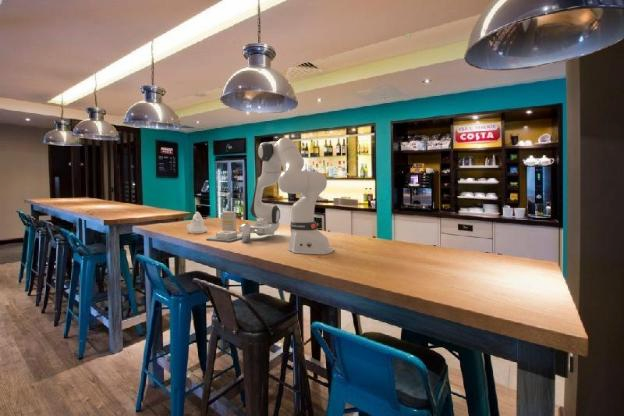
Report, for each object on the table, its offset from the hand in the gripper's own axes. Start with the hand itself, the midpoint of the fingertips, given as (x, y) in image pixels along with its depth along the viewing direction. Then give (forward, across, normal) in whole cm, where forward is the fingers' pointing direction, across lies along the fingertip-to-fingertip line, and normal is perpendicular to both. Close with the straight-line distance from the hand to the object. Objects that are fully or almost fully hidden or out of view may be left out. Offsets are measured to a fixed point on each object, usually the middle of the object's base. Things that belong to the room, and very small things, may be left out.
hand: (248, 231), depth 196 cm
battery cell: (+2, 0, +6) cm, 6 cm away
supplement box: (-27, -32, +6) cm, 42 cm away
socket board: (-2, -16, +6) cm, 17 cm away
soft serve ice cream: (-16, -49, +6) cm, 52 cm away
